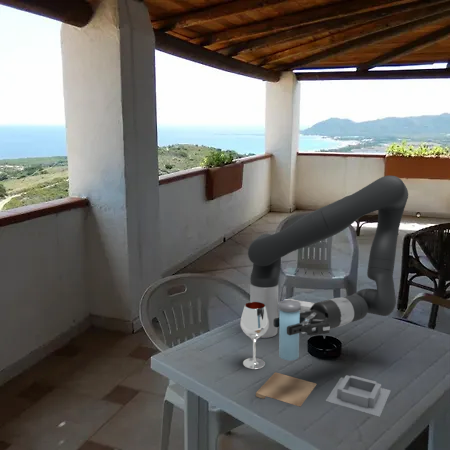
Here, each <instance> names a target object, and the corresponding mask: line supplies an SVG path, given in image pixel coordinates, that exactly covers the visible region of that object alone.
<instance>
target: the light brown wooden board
mask: <svg viewBox="0 0 450 450" xmlns="http://www.w3.org/2000/svg"><path fill="white" fill-rule="evenodd" d="M316 386H317V383H315V382H312V381H308V380H304V379H300V378H298V377H294V376H291V375H286V374H283V373H279V372H276V371H275V372H274V373H273V374H272V375H271V376H270V377H269V378H268V379H267V380H266V381H265V383H263V385H261V387H260V388H259V389H258V390H257V391H256V392H255V397H257V398H259V399H264V400H265V399H266V397H268V398H270V399H274V400H277V401H280V402H284V403H286V404H291V405H292V406H296V407H300V408H301V407H302V406H303V404H304V403H305V401H306V400H307V398H308V397H309V396H310V395H311V393H312V391H313V390H314V389H315V387H316Z"/></svg>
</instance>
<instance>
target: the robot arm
mask: <svg viewBox="0 0 450 450" xmlns="http://www.w3.org/2000/svg"><path fill="white" fill-rule="evenodd" d="M408 199H409V191H408V188H407V186H406V184H405V183H404V181H403V180H402V179H401V178H399V177H398V176H395V175H384V176H382V177H379V178H377V179H376V180H374V181H372V182H370V183H369V184H367V185H366V186H364V187H362V188H361V189H359V190H358V191H356V192H354V193H352V194H350V195H347V196H345V197H342V198H340V199H338V200H336V201H334V202H331V203H329V204H327V205H325V206H322V207H320V208H318V209H315V210H314V211H311V212H310V213H308V214H306V215H304V216H302V217H301V218H299V219H297V220H296V221H294V222H293V223H292V224H291V225H288V226H287V227H286V228H284V229H283V230H280V231H278V232H275V233H273V234H271V233H265V234H261V235H259V236H257V237H256V238H255V239H254V240H252V242H251V243H250V245H249V246H248V250H247V256H248V259H249V261H250V262H251V263H252V264H253V265H252V270H251V274H250V284H249V285H250V287H249V289H250V290H249V291H250V292H249V293H250V295H249V296H250V299H249V300H250V301H249V302H261V303H263V304H265V307H266V311H267V315H268V319H269V328H268V330H267V331H266V333H265V334H263V335H262V336H261V337H260V338H263V339H264V338H265V339H266V338H267V339H268V338H272V337H276V335H277V334H278V329H279V317H278V316H279V315H278V312H279V283H280V282H279V280H280V279H279V278H280V274H281V265H282V264H281V263H282V261H281V260H282V258H284V257H285V256H288V254H291V253H293V252H294V251H298V250H301V249H303V248H306V247H308V246H311V245H314V244H316V243H319V242H322V241H324V240H327V239H329V238H331V237H333V236H335V235H338V234H340V233H341V232H343V231H345V230H346V229H347V228H348V227H350V226H351V225H352V224H354V223H355V222H356V221H357V220H359V219H361V218H362V217H364V216H367V215H368V214H371V213H373V212H376V211H377V212H378V213H377V214H378V215H377V224H376V229H375V230H376V231H375V234H374V237H373V241H372V244H371V246H370V250H369V257H368V262H367V263H368V264H367V272H366V275H367V277H368V279H370V280H371V281H374V283H375V284H376V285H375V286H376V289H375V288H363V289H360V290H358V291H356V292H354V293H353V294H351V295H346V296H342V297H333V298H330V299H326V300H322V301H317V302H315V304H313V306H312V307H311V308H310V310H303V311H300V323H298V324H294V325H290V326H288V327H287V334H288V335H293V334H297V333H299V334H303V335H304V334H307V336H311V337H312V336H317V335H323V334H325V335H326V334H329V333H330V331H331V330H332V329H336V328H339V327H340V328H341V327H343V326H345V325H346V326H347V324H350V323H354V322H357V321H360V320H362V319H364V318H365V317H366V316H367V315H368V314H372V315H376V316H381V317H387V316H390V315H391V314H392V313H393V312H394V310H395V309H396V304H397V298H396V297H397V296H396V290H395V283H394V282H395V281H394V277H393V275H394V269H395V262H396V256H397V255H396V253H397V245H398V237H399V230H400V225H401V223H402V222H401V221H402V218H403V215H404V212H405V208H406V204H407V202H408Z"/></svg>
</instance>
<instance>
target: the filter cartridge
mask: <svg viewBox="0 0 450 450" xmlns="http://www.w3.org/2000/svg"><path fill="white" fill-rule="evenodd" d="M282 300H283V299H282ZM282 300H280V301H278V310H279V315H278V316H279V317H278V318H279V327H278V329H279V330H278V332H279V333H278V340H279V341H278V345H279V346H278V356H279V358H280V359H282V360H284V361H296V360H298V359H299V357H300V333H297V334H293V335H288V334H287V327H288V326H290V325H294V324H298V323H300V309H301V304H300V302H298V301H299V300H298V301H294V300H295V299H293V300H291V299H289V300H283V301H282Z"/></svg>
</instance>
